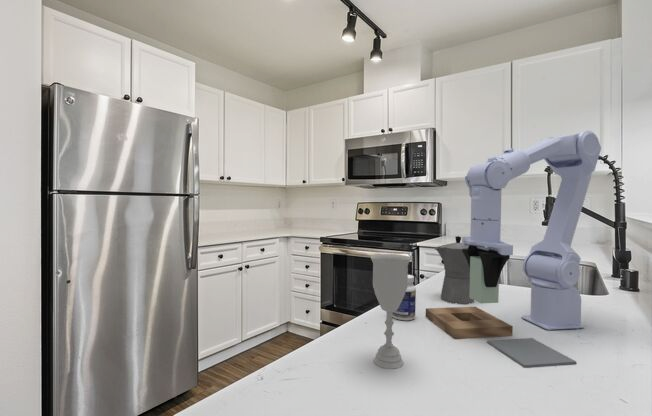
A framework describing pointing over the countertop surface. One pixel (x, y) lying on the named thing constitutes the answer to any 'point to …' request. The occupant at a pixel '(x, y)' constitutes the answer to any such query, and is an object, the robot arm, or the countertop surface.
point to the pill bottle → (407, 303)
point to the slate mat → (530, 352)
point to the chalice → (389, 300)
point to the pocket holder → (468, 322)
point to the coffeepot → (455, 273)
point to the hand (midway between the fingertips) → (484, 284)
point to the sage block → (481, 283)
